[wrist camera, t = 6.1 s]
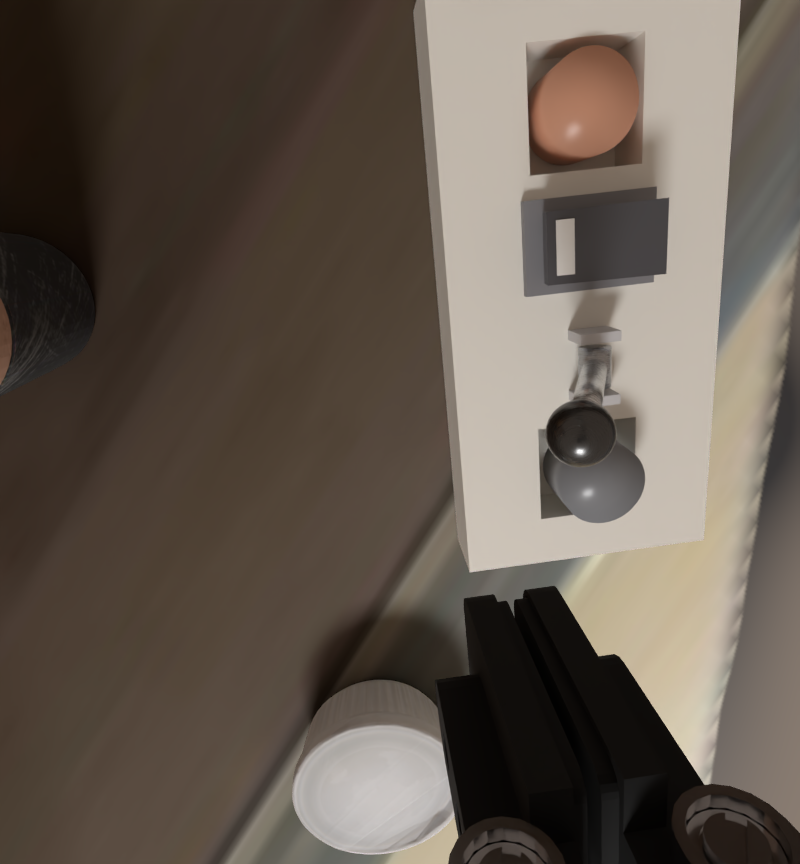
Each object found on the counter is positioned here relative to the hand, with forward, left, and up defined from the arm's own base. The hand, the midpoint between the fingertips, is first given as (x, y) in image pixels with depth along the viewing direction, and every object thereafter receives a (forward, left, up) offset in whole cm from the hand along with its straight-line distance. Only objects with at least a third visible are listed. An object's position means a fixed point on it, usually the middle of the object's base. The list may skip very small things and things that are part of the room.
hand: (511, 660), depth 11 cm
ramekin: (+26, -5, -25) cm, 36 cm away
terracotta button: (-12, +9, -23) cm, 28 cm away
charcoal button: (+6, +9, -21) cm, 24 cm away
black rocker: (-6, +9, -18) cm, 22 cm away
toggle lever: (0, +9, -19) cm, 21 cm away
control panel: (-3, +9, -24) cm, 26 cm away
